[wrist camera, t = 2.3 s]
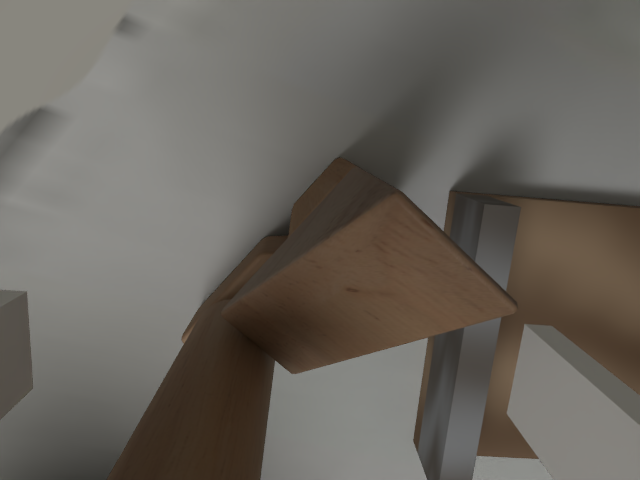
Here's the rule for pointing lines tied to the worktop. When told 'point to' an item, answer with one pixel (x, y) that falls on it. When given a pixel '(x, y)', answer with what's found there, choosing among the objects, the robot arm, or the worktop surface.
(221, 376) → the brown upright wooden piece
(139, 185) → the worktop surface
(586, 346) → the metal-railed wooden board
